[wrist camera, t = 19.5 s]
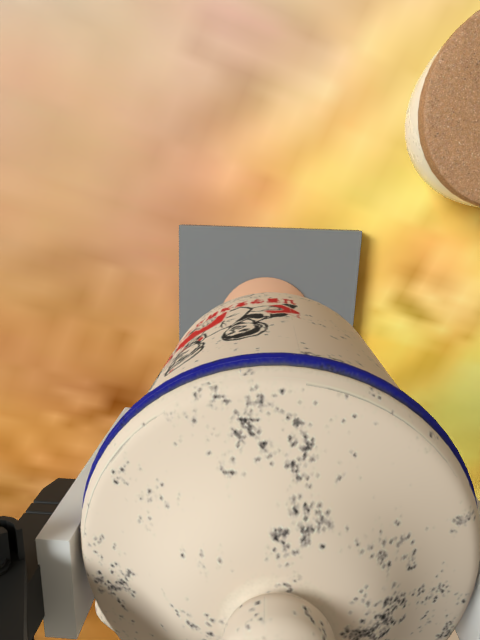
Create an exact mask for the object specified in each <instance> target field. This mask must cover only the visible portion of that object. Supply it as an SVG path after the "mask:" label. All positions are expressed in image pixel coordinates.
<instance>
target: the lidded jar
mask: <svg viewBox="0 0 480 640" xmlns="http://www.w3.org/2000/svg"><path fill="white" fill-rule="evenodd" d="M405 140H406V146H407V151H408V154H409V157H410V160H411V162H412V164H413V166H414V168H415V170H416V171H417V173H418V174H419V175H420V177H421V178H422V179H423V181H424V182H425V183H427V184H428V185H429V186H430V187H431V188H432V189H433V190H435V191H436V192H438V193H439V194H441V195H443V196H444V197H446V198H448V199H450V200H453V201H455V202H458V203H461V204H465V205H469V206H474V207H480V10H479V11H477V12H476V13H474V14H473V15H472V16H471V17H470V18H469V19H468V20H466V21H465V22H464V23H463V24H462V25H461V26H460V27H459V28H458V29H457V30H456V31H455V32H454V33H453V34H452V35H451V37H450V38H449V39H448V40H447V41H446V43H445V44H444V45H443V46H442V47H441V48H440V49H439V51H438V52H437V53H436V54H435V55H434V57H433V58H432V59H431V60H430V62H429V63H428V65H427V66H426V68H425V70H424V71H423V73H422V74H421V76H420V78H419V79H418V81H417V83H416V86H415V88H414V90H413V92H412V95H411V98H410V102H409V105H408V109H407V113H406V120H405Z"/></svg>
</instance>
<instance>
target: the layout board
mask: <svg viewBox="0 0 480 640" xmlns="http://www.w3.org/2000/svg"><path fill="white" fill-rule="evenodd" d="M361 238H362V231H359V230H332V229H302V228H271V227H241V226H210V225H179V335H180V340H181V339H182V337H183V336H184V335H185V333H186V332H187V331H188V330H189V328H190V327H191V326H192V325H193V324H194V323H195V322H196V321H197V320H199V319H200V318H201V317H202V316H203V315H205V314H206V313H208V312H209V311H210V310H212V309H213V308H215V307H217V306H219V305H221V304H223V303H225V302H227V301H230V300H232V299H235V298H238V297H241V296H245V295H250V294H256V293H266V292H277V293H288V294H293V295H298V296H302V297H305V298H309V299H311V300H314V301H316V302H319V303H321V304H323V305H324V306H326V307H328V308H330V309H331V310H333V311H335V312H336V313H338V314H339V315H340V316H341V317H343V318H344V319H345V320H346V321H347V322H348V323H349V324H350V325H351V326H352V327H353V321H354V310H355V300H356V290H357V279H358V269H359V259H360V248H361Z"/></svg>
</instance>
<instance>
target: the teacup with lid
mask: <svg viewBox="0 0 480 640" xmlns="http://www.w3.org/2000/svg"><path fill="white" fill-rule="evenodd" d="M80 528H81V548H82V555H83V561H84V566H85V570H86V574H87V578H88V581H89V584H90V587H91V590H92V592H93V595H94V598H95V600H96V603H95V608H96V613H97V615H98V617H99V618H100V620H101V621H102V622H103V623H104V624H106V625H107V626H108V627H109V628H111V629H112V630H113V631H115V632H116V634H117V635H118V636H119V638H120V639H121V640H447V639H448V638H449V637H450V635H451V634H452V632H453V631H454V629H455V628H456V626H457V625H458V623H459V622H460V620H461V618H462V616H463V614H464V612H465V610H466V608H467V606H468V604H469V601H470V598H471V596H472V593H473V591H474V587H475V583H476V578H477V574H478V570H479V562H480V519H479V513H478V507H477V500H476V496H475V492H474V488H473V484H472V481H471V478H470V476H469V473H468V470H467V468H466V466H465V464H464V462H463V460H462V458H461V456H460V454H459V452H458V450H457V448H456V447H455V445H454V444H453V442H452V441H451V439H450V438H449V436H448V435H447V433H446V432H445V431H444V430H443V429H442V427H441V426H440V425H439V424H438V423H437V421H436V420H435V419H434V418H433V417H432V416H431V415H430V414H429V413H428V412H427V411H426V410H425V409H424V408H423V407H422V406H421V405H420V404H418V403H417V402H416V401H414V400H413V399H412V398H411V397H409V396H408V395H407V394H405V393H404V392H403V391H401V390H400V389H399V388H398V386H397V385H396V384H395V382H394V381H393V380H392V378H391V377H390V376H389V374H388V373H387V371H386V370H385V369H384V367H383V366H382V365H381V363H380V362H379V361H378V359H377V358H376V356H375V355H374V354H373V352H372V351H371V350H370V348H369V347H368V346H367V344H366V343H365V341H364V340H363V339H362V337H361V336H360V335H359V334H358V332H357V331H356V330H355V329H354V328H353V327H352V326H351V325H350V324H349V323H348V322H347V321H346V320H345V319H344V318H343V317H341V316H340V315H339V314H338V313H336V312H335V311H333V310H331V309H330V308H328V307H326V306H324V305H323V304H321V303H319V302H316V301H314V300H311V299H309V298H305V297H302V296H298V295H293V294H288V293H277V292H266V293H256V294H250V295H245V296H241V297H238V298H235V299H232V300H230V301H227V302H225V303H223V304H221V305H219V306H217V307H215V308H213V309H212V310H210V311H209V312H208V313H206V314H205V315H203V316H202V317H201V318H200V319H199V320H197V321H196V322H195V323H194V324H193V325H192V326H191V327H190V328H189V330H188V331H187V332H186V333H185V335H184V336H183V337H182V339H181V340H180V342H179V344H178V345H177V347H176V348H175V350H174V352H173V353H172V355H171V356H170V358H169V359H168V361H167V363H166V364H165V366H164V367H163V369H162V371H161V372H160V374H159V375H158V377H157V379H156V380H155V382H154V383H153V385H152V386H151V388H150V390H149V391H148V393H147V394H146V395H145V396H144V397H143V398H141V399H140V400H139V401H138V402H137V403H135V404H134V405H133V406H132V407H131V408H130V409H129V410H128V411H127V412H126V413H125V414H124V415H123V416H122V417H121V419H120V420H119V421H118V422H117V424H116V425H115V426H114V428H113V429H112V430H111V431H110V433H109V434H108V436H107V437H106V439H105V441H104V442H103V444H102V446H101V447H100V449H99V451H98V453H97V455H96V457H95V460H94V462H93V464H92V466H91V469H90V472H89V475H88V478H87V481H86V486H85V491H84V496H83V504H82V515H81V527H80Z"/></svg>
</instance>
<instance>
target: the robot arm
mask: <svg viewBox="0 0 480 640" xmlns="http://www.w3.org/2000/svg"><path fill="white" fill-rule="evenodd" d="M129 409H130V408H124V410H123V411H122V413H121V414H120V416H119V417H118V418H117V420H116V421H115V423H114V424H113V426H112V427H111V429H110V430H109V432H108V433H107V435H106V436H105V438H104V439H103V440H102V442H101V443H100V445H99V446H98V448H97V449H96V451H95V452H94V454H93V455H92V457H91V458H90V460H89V461H88V462H87V464H86V465H85V467H84V468H83V470H82V471H81V473H80V474H79V476H78V477H77V479H63V478H58V479H56V480H55V481H54V482H52V483H51V484H49V485H48V486H46V487H45V488H43V490H42V491H41V492H40V493H39V495H38V496H37V497H36V499H35V500H34V503H32V504H31V505H30V506H29V508H28V509H27V510H26V513H24V514H23V515H22V517H21V518H20V519H19V520H16V519H15V518H12V517H6V516H0V640H34V635H35V633H36V631H37V629H38V627H39V625H40V624H41V622H42V620H44V630H45V637H54V638H68V639H77V638H78V635H79V633H80V631H81V628H82V626H83V624H84V621H85V619H86V617H87V614H88V612H89V610H90V607H91V605H92V603H93V600H94V595H93V592H92V590H91V587H90V584H89V581H88V578H87V574H86V570H85V566H84V561H83V555H82V548H81V528H80V527H81V515H82V504H83V496H84V491H85V486H86V481H87V478H88V475H89V472H90V469H91V466H92V464H93V462H94V460H95V457H96V455H97V453H98V451H99V449H100V447H101V446H102V444H103V442H104V441H105V439H106V437H107V436H108V434H109V433H110V431H111V430H112V429H113V428H114V426H115V425H116V424H117V422H118V421H119V420H120V419H121V417H122V416H123V415H124V414H125V413H126V412H127V411H128V410H129ZM476 500H477V507H478V513H479V519H480V501H479V500H478V499H477V497H476ZM455 631H456V633H457V635H458V637H459V640H480V562H479V570H478V574H477V578H476V583H475V587H474V591H473V593H472V596H471V598H470V601H469V604H468V606H467V608H466V610H465V612H464V614H463V616H462V618H461V620H460V622H459V623H458V625H457V626H456V628H455Z"/></svg>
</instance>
